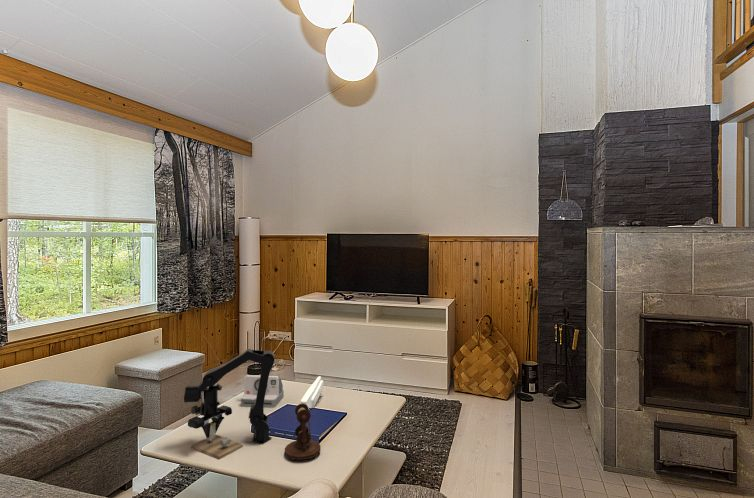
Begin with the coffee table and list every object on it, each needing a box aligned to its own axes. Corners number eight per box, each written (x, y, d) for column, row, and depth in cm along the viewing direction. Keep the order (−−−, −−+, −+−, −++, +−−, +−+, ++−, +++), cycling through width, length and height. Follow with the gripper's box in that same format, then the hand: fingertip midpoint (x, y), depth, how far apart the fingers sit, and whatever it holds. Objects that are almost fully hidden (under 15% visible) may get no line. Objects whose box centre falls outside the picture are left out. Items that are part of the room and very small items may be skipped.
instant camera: (235, 406, 228) (235, 378, 228) (255, 393, 248) (255, 367, 248) (271, 410, 223) (271, 382, 223) (289, 396, 244) (289, 370, 243)
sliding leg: (215, 441, 185) (215, 422, 185) (209, 444, 183) (209, 425, 182) (212, 439, 187) (211, 421, 186) (205, 442, 184) (205, 424, 184)
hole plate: (242, 447, 183) (242, 436, 183) (219, 459, 173) (219, 447, 173) (214, 437, 192) (214, 426, 192) (191, 448, 182) (191, 437, 182)
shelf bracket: (325, 396, 244) (324, 376, 241) (310, 423, 220) (308, 401, 217) (316, 395, 245) (315, 375, 242) (300, 422, 221) (298, 400, 218)
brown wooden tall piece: (323, 460, 172) (323, 411, 172) (286, 465, 168) (286, 415, 168) (317, 443, 186) (317, 398, 186) (283, 448, 182) (283, 401, 182)
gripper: (216, 390, 196) (216, 424, 197) (179, 403, 180) (179, 440, 181) (232, 395, 191) (232, 429, 191) (196, 409, 175) (196, 446, 175)
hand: (210, 436), depth 185 cm, fingers closed on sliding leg, 3 cm apart
